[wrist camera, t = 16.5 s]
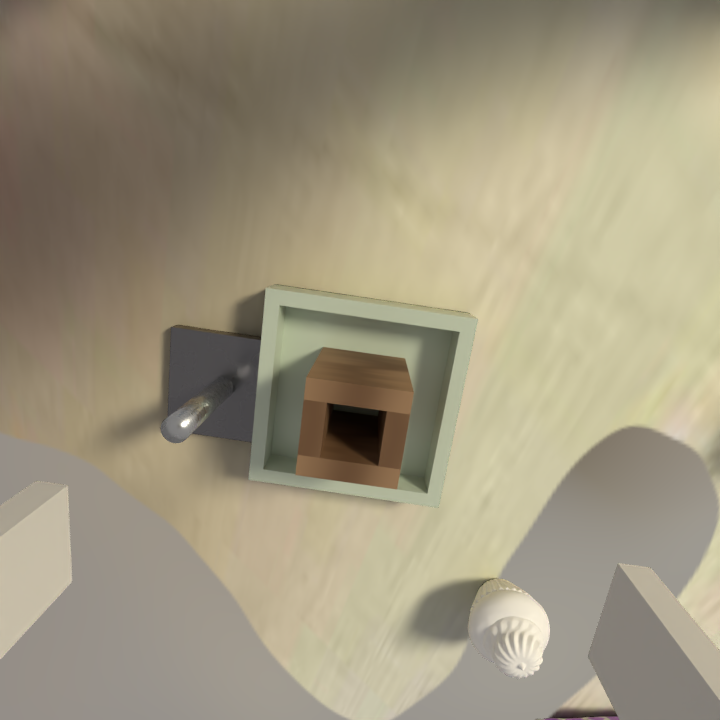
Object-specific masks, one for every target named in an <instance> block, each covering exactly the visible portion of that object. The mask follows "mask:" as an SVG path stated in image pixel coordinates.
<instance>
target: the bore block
mask: <svg viewBox="0 0 720 720" xmlns="http://www.w3.org/2000/svg"><path fill="white" fill-rule="evenodd" d="M413 395H414V391H413V387H412V383H411V379H410V375H409V371H408V367H407V364H406V360H405V358H399V357H392V356H384V355H377V354H370V353H363V352H356V351H349V350H342V349H335V348H328V347H323V348H322V350H321V352H320V354H319V355H318V357H317V359H316V361H315V362H314V364H313V366H312V368H311V370H310V371H309V373H308V375H307V377H306V383H305V392H304V401H303V410H302V419H301V428H300V437H299V446H298V455H297V465H296V474H295V475H298V476H305V477H312V478H319V479H326V480H333V481H341V482H348V483H355V484H362V485H369V486H376V487H383V488H390V489H397V487H398V482H399V476H400V470H401V464H402V459H403V453H404V447H405V441H406V436H407V430H408V424H409V418H410V413H411V407H412V401H413ZM334 404H339V405H347V406H354V407H361V408H368V409H375V410H379V413H378V416H373V415H366V414H359V413H352V412H345V411H338V410H333V408H334Z"/></svg>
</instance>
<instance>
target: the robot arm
mask: <svg viewBox="0 0 720 720" xmlns="http://www.w3.org/2000/svg"><path fill="white" fill-rule="evenodd" d="M70 545H71V544H70V522H69V500H68V485H62V484H55V483H48V482H41V481H36V482H34V483H33V484H31V485H30V486H28V487H27V488H25V489H24V490H23V491H21V492H20V493H18V494H16V495H15V496H14V497H12V498H11V499H9V500H8V501H6V502H5V503H3V504H2V505H0V659H1V658H2V657H3V656H4V655H5V654H6V653H7V652H8V651H9V649H10V648H11V647H12V646H13V645H14V644H15V643H16V642H17V641H18V640H19V639H20V638H21V636H22V635H23V634H24V633H25V632H26V631H27V630H28V629H29V628H30V627H31V625H32V624H33V623H34V622H35V621H36V620H37V619H38V618H39V617H40V616H41V615H42V614H43V613H44V612H45V610H46V609H47V608H48V607H49V606H50V605H51V604H52V603H53V602H54V600H56V598H58V596H59V595H60V594H61V593H62V592H63V591H64V590H65V589H66V588H67V587H68V585H69V584H70V583H71V582H72V567H71V546H70ZM588 658H589V660H590V662H591V664H592V666H593V668H594V670H595V672H596V674H597V676H598V678H599V680H600V682H601V684H602V686H603V688H604V690H605V692H606V694H607V696H608V698H609V700H610V702H611V704H612V706H613V708H614V710H615V712H616V714H617V716H618V718H619V720H720V650H719V649H718V648H717V647H716V646H715V644H714V643H713V642H712V641H711V640H710V638H709V637H708V636H707V635H706V634H705V632H704V631H703V630H702V629H701V628H700V626H699V625H698V624H697V623H696V622H695V620H694V619H693V618H692V617H691V616H690V614H689V613H688V612H687V611H686V610H685V608H684V607H683V606H682V605H681V604H680V602H679V601H678V600H677V599H676V598H675V596H674V595H673V594H672V593H671V592H670V590H669V589H668V588H667V587H666V586H665V584H664V583H663V582H662V581H661V580H660V579H659V577H658V576H657V575H656V574H655V573H654V571H653V570H652V569H651V568H649V567H641V566H635V565H627V564H620V563H618V564H617V567H616V570H615V573H614V577H613V579H612V583H611V586H610V589H609V592H608V595H607V598H606V601H605V605H604V607H603V611H602V613H601V617H600V620H599V623H598V626H597V629H596V632H595V635H594V638H593V642H592V644H591V647H590V651H589V654H588Z"/></svg>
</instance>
